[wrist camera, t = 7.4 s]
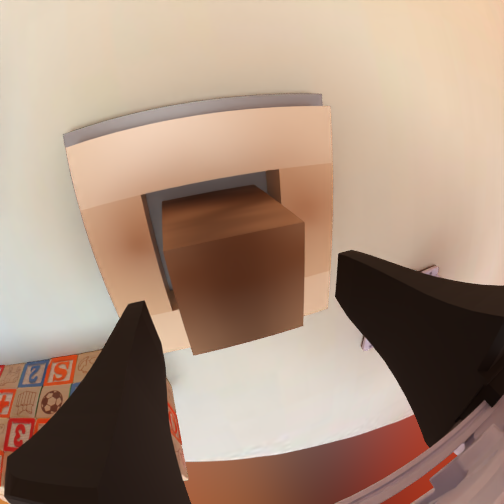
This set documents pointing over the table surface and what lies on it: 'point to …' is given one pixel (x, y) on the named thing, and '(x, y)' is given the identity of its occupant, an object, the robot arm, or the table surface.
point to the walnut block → (234, 266)
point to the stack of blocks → (50, 401)
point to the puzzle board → (199, 186)
